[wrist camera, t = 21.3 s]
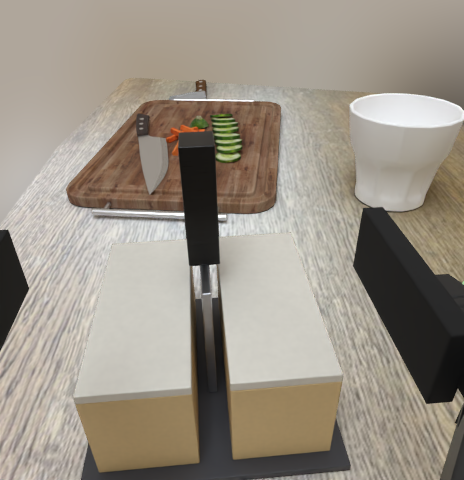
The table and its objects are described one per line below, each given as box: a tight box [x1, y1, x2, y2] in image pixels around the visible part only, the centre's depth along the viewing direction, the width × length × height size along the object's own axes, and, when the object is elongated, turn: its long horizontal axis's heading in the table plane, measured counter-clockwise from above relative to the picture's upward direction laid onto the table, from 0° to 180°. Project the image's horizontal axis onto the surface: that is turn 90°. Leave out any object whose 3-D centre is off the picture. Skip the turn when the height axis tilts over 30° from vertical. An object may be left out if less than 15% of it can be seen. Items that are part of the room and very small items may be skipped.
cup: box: [349, 93, 464, 212], centre depth 52 cm, size 12×12×11 cm
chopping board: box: [66, 99, 281, 221], centre depth 69 cm, size 45×27×3 cm, turn 174°
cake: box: [73, 232, 351, 480], centre depth 30 cm, size 16×16×8 cm
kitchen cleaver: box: [169, 80, 206, 100], centre depth 92 cm, size 24×1×10 cm
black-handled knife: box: [178, 131, 220, 392], centre depth 29 cm, size 8×2×17 cm, turn 5°
